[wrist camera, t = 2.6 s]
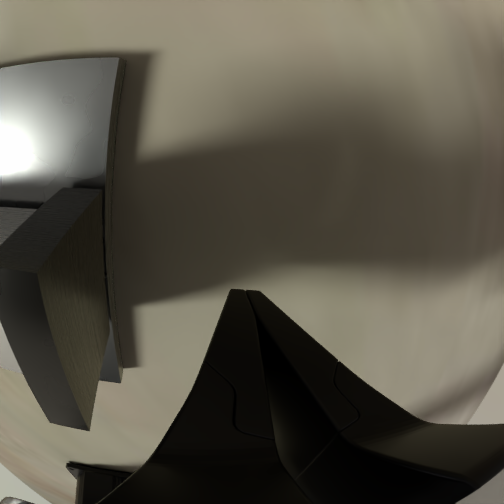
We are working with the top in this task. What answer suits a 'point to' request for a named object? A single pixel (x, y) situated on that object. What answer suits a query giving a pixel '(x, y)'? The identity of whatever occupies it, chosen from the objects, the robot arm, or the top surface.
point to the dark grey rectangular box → (55, 302)
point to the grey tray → (63, 147)
